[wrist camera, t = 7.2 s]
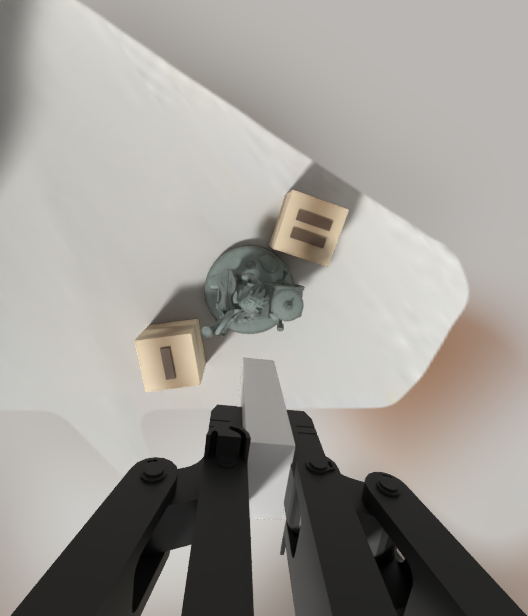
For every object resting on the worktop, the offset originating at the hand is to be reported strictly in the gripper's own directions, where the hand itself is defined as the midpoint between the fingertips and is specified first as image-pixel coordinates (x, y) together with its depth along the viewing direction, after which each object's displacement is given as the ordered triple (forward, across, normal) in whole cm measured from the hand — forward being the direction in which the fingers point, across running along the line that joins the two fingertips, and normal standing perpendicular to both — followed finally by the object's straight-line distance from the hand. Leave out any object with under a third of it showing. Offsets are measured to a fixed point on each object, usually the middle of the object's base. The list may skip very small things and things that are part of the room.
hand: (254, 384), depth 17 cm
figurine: (+26, +1, 0) cm, 26 cm away
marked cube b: (+26, +6, +8) cm, 27 cm away
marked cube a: (+26, -7, -8) cm, 28 cm away
